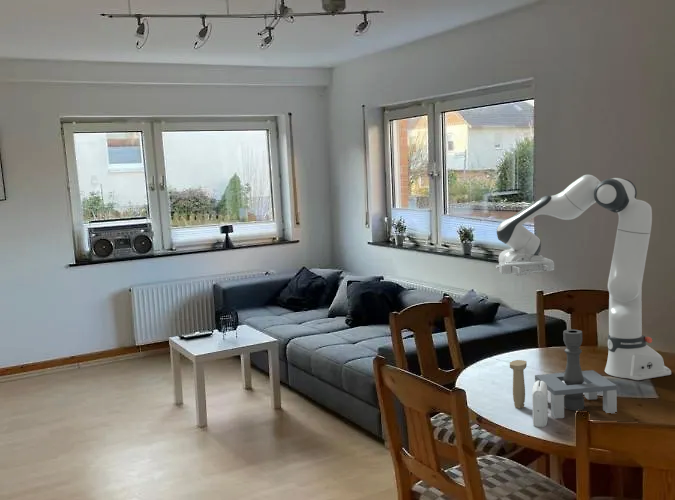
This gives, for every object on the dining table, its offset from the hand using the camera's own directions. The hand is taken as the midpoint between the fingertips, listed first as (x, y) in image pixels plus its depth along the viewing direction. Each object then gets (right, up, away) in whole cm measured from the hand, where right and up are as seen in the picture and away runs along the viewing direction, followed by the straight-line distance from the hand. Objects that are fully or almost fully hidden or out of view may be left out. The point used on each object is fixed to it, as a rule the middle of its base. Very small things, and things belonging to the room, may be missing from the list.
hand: (533, 269), depth 244 cm
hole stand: (+5, -44, -28) cm, 52 cm away
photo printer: (-9, -46, -38) cm, 60 cm away
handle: (-12, -45, -25) cm, 52 cm away
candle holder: (+5, -44, -28) cm, 52 cm away
